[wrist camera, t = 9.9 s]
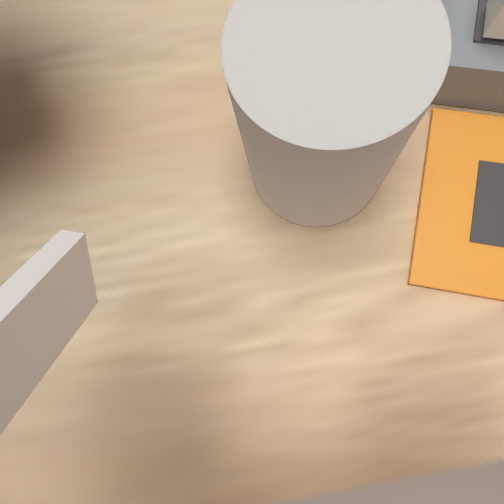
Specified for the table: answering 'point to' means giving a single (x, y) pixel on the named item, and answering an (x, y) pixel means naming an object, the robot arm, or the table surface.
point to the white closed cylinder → (330, 95)
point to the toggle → (494, 19)
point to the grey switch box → (472, 60)
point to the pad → (461, 206)
